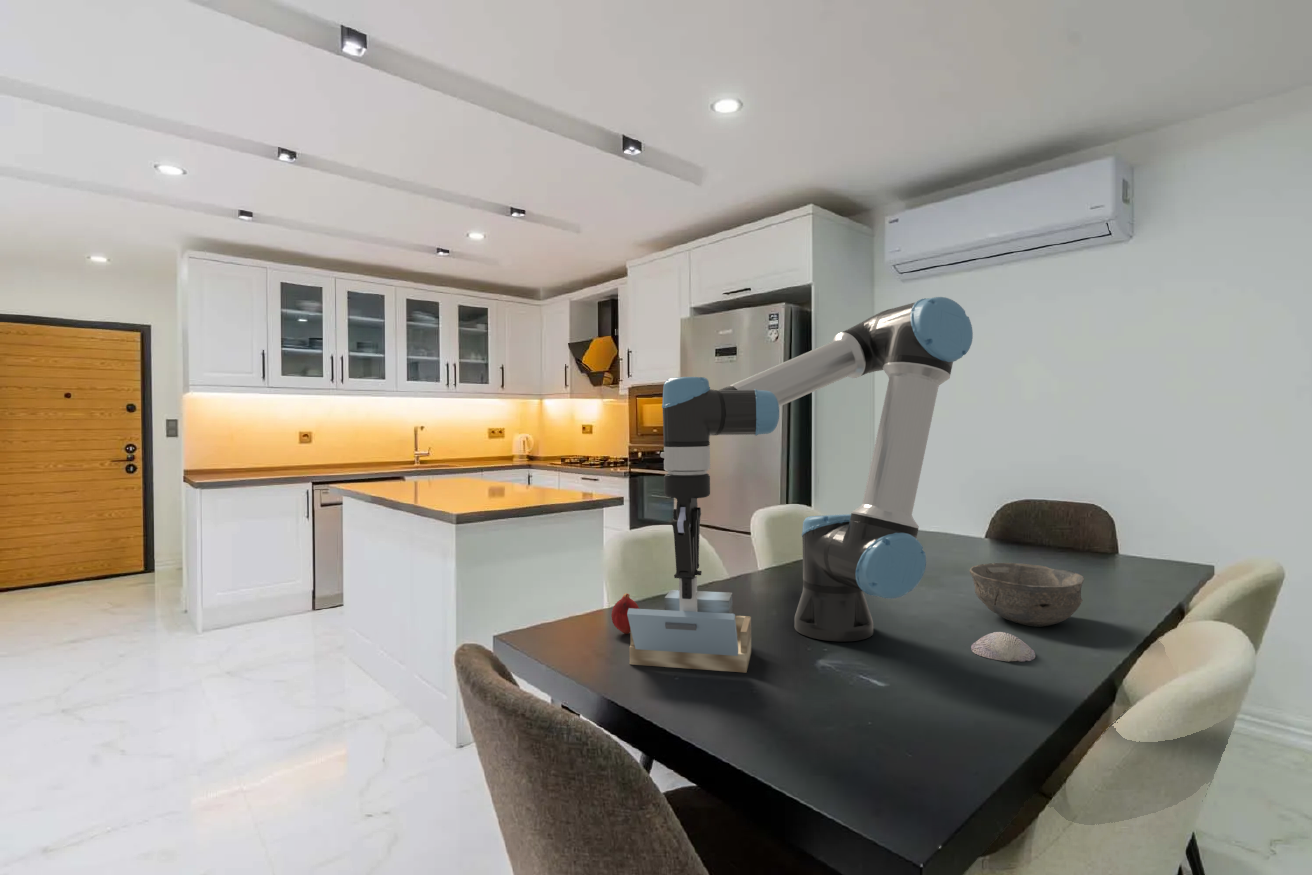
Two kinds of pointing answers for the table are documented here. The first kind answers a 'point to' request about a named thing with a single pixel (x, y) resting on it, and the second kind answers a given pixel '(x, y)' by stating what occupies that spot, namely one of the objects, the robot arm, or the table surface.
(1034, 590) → the bowl
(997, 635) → the seashell
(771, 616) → the table surface
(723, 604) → the open wooden box
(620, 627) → the onion
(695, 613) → the panel
